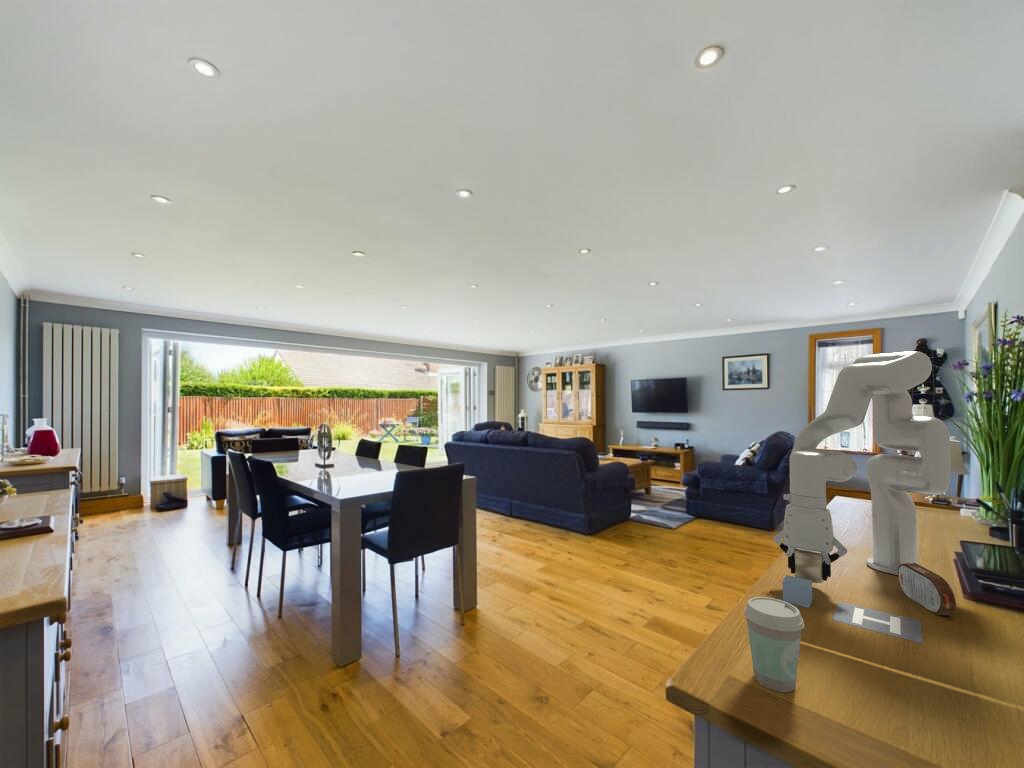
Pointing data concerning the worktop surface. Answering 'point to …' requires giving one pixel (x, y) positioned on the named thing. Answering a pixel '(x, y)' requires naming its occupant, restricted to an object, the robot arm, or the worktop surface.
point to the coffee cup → (774, 641)
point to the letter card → (879, 621)
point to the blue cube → (797, 591)
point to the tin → (926, 589)
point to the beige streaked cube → (809, 565)
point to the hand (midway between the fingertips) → (809, 574)
